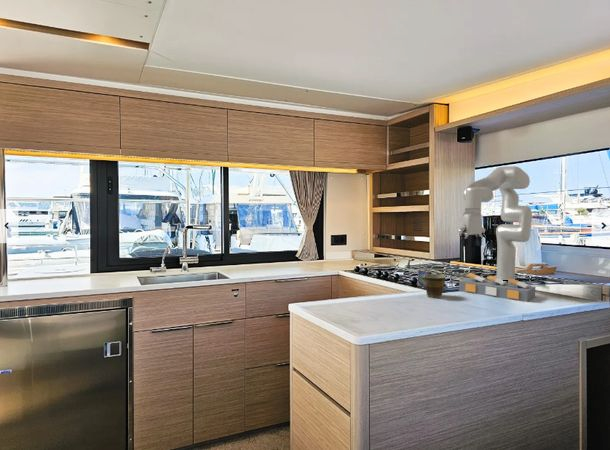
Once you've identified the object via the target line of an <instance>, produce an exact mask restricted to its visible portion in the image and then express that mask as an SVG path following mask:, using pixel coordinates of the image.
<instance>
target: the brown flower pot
mask: <svg viewBox="0 0 610 450" xmlns="http://www.w3.org/2000/svg"><path fill="white" fill-rule="evenodd" d="M419 278H422V279H423V280H424V282H425V286H423V284H421V283H420V282H419V281H418V280H419ZM419 278H418V277H417V283H418V282H419V283H420V284H421V285H422V286H423V287H422V288H424V289H425V292H426V296H427V298H432V299H439V298H442V297H443V292H444V286H445V281H446V276H445V275H443V274H437V273H431V274H426V275H424V278H423V277H419Z"/></svg>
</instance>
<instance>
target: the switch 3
mask: <svg viewBox="0 0 610 450" xmlns="http://www.w3.org/2000/svg"><path fill="white" fill-rule="evenodd" d="M507 283H512V284H515V285H518V286H521V287H524V288H527V287H528V286H529V284H527V283H525V282H522V281H519V280H515V279H512V278H511V279H509V280H508V281H507Z"/></svg>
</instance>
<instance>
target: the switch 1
mask: <svg viewBox="0 0 610 450" xmlns="http://www.w3.org/2000/svg"><path fill="white" fill-rule="evenodd" d="M466 277H468V278H473V279H476V280H478V281H481V282H483V281H485V280H486V278H484V277H482V276H479V275H477V274H474V273H472V272H469V273H467V274H466Z"/></svg>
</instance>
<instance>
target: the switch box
mask: <svg viewBox="0 0 610 450" xmlns="http://www.w3.org/2000/svg"><path fill="white" fill-rule="evenodd" d="M458 284H459V285H458V286H459V287H458V291H459V292H464V293H471V294H477V295H483V296H489V297H495V298H502V299H507V300H508V299H509V300H514V301H518V300H519V301H520V302H525V301H526V302H530V301H531V300H532V299H534V298H536V286H532V285H528V287H527V288H524V287H521V286H518V285H515V284H513V283H511V282H506V284H504V285H502V284H499V283H497V282H494V281H492V280H489V279H485V281H483V282H481V281H478V280H476V279H473V278H471V277H468V278H464V279H462V280H460V281H458ZM519 301H518V302H519Z"/></svg>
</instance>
